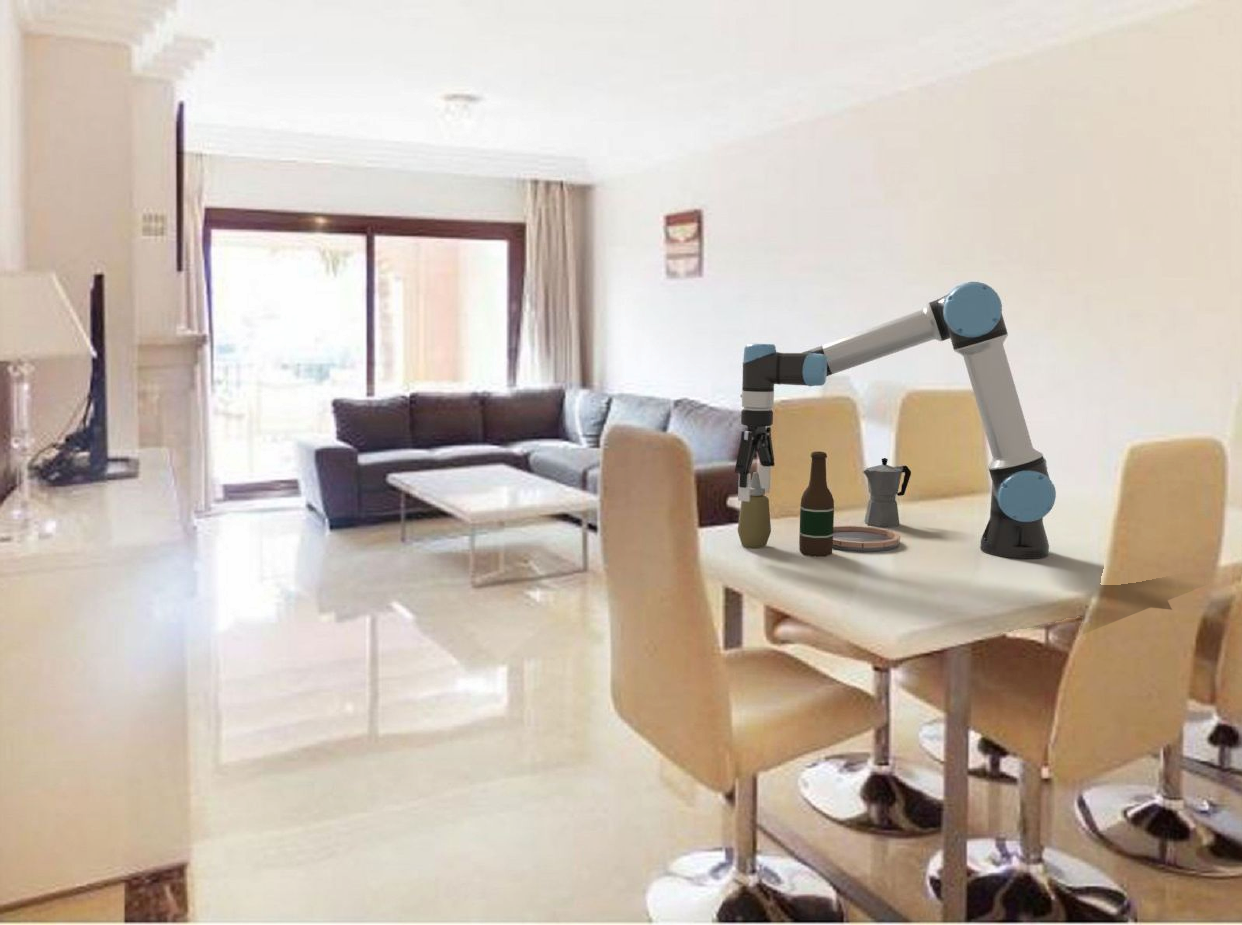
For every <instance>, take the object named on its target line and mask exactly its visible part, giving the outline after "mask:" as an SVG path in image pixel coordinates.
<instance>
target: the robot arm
mask: <svg viewBox="0 0 1242 925" xmlns="http://www.w3.org/2000/svg"><path fill="white" fill-rule="evenodd" d="M1002 308H1003V305H1002V301H1001V298H1000V296H999V294H998V292H997V291H996V290H995V289H994V288H992V286H989V285H988V284H986V283H984V282H979V281H969V282H964V283H962V284H960V285H957V286H955V287H954V288H952V290H950V292H948V294H946V295H944V296H942V297H940V298H938V299H935V300H932V301H930V302H927V304H926V305H925V307H924V308H923V309H920V310H917V311H914V312H912V313H909V314H907V315H903V316H901V317H898V318H895V319H892V320H889V321H886V322H884V323H881V324H879V325H875V326H873V327H870V328H867V329H863V330H862V331H860V332H856V333H854V334H850V335H848V336H846V337H842V338H840V339H837V340H834V341H831V342H828V343H825V344H823V345H820V346H818V347H814V348H812V349H809V350H806V351H803V352H785V353H784V352H779V351H777V348H776V345H775V344H774V343H747V344H746V345H745V346H744V349H743V358H742V384H741V385H742V386H741V387H742V388H741V389H742V390H741V391H742V392H741V394H740V398H741V407H743V409H742V410H741V414H740V423H741V425H743V426H745V427H747V428H746V430H742V431H741V434H740V443H739V448H738V452H737V453H738V454H737V458H736V463H735V466H734V467H735V468H734V473H735V474H738V487H737V488H738V490H737V495H738V496H737V501H739V502H741V501H747V502H749V501H750V484H751V480H752V476H751V473H750V470H751V467H752V465H753V461H754V458H755V455H756V452H757V456H758V459H759V463H760V465H759V466H758V474H759V479H760V485H761V487H764V488H765V494H769V493H770V492H771V491H770V488H771V467H775V456H774V455H775V454H774V450H773V449H774V448H773V441H772V427H771V426H773V424H774V423H773V422H774V411H773V408H774V407H775V406H774V405H775V404H774V402H775V385H786V386H808V387H814V386H815V387H818V386H820V387H821V386H824V385H825V384H826V380H827V377H829V376H832V375H834V374H838V373H841V372H842V371H846V370H849V369H852V368H856V367H858V366H861V365H863V364H867V363H869V362H872V361H876V360H879V359H880V358H883V357H887V356H890V355H893V354H895V353H898V352H900V351H901V352H902V351H905V350H907V349H910V348H913V347H916V346H919V345H922V344H925V343H927V342H930V341H934V340H936V341H939V342H943V341H946V340H949V339H950V341H951V345H952V349H953V351H954V352H955V353H957V354H960V355H961V356H962V358H963V361H964V364H965V368H966V369H967V374H968V378H969V380H970V384H971V387H972V390H973V394H974V398H975V402H976V405H977V407H978V412H979V415H980V419H981V421H982V422H981V423H982V425H983V428H984V432H985V436H986V439H987V442H988V445H989V449H990V453H991V456H992V460H991V461H990V463H989V464H988V467H987V469H988V471H989V475H990V478H991V493H990V494H991V496H990V498H991V499H990V508H989V509H990V512H989V518H988V521H987V524H986V526H985V529H984V532H983V534H982V536H981V539H980V547H979V548H980V550H981V551H982V552H983V553H987V554H990V555H994V556H999V557H1004V558H1005V557H1006V558H1013V559H1039V558H1045V557H1048V556H1049V554H1050V545H1049V540H1048V536H1047V533H1046V529H1045V526H1044V521H1043V520H1044V517H1046V516H1047V515H1048V514H1049V513H1050V512H1051V510H1052V509H1053V507H1054V506H1055V503H1056V498H1057V491H1056V487H1055V484H1054V483H1053V481H1052V480H1051V478H1050V476H1049V471H1048V466H1047V460H1046V458H1045V457H1044V454H1043V453H1042V452H1040V451H1038V450H1037V449H1035V448H1034V446H1033V443H1032V440H1031V436H1030V433H1029V430H1028V426H1027V422H1026V419H1025V416H1024V412H1023V409H1022V405H1021V403H1020V402H1021V401H1020V399H1019V398H1020V397H1019V394H1018V391H1017V388H1016V384H1015V381H1014V378H1013V374H1012V370H1011V368H1010V367H1011V366H1010V364H1009V360H1008V358H1007V354H1006V350H1005V346H1004V342H1005V341H1006V339H1007V338H1008V336H1009V333H1008V329H1007V327H1006V324H1005V320H1004V316H1003V309H1002Z"/></svg>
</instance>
